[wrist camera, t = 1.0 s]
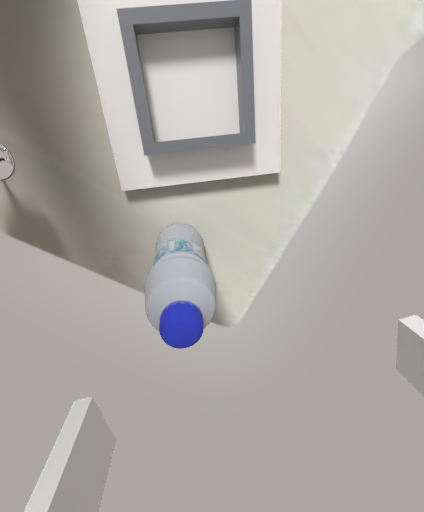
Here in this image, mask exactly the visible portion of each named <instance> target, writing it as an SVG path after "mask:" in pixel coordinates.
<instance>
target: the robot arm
mask: <svg viewBox="0 0 424 512" xmlns="http://www.w3.org/2000/svg"><path fill="white" fill-rule="evenodd" d="M396 369H397V370H398V371H399V372H400V373H401V374H402V375H403V376H404V377H405V378H406V379H407V380H408V381H409V382H410V383H411V384H412V385H413V386H414V387H415V388H416V389H417V390H418V391H419V392H420V393H421V394H422V395H423V396H424V320H423V319H421V318H419V317H418V316H417V315H415V316H411V317H407V318H403V319H399V320H398V341H397V365H396ZM115 442H116V438H115V436H114V435H113V433H112V431H111V429H110V427H109V425H108V424H107V422H106V420H105V418H104V416H103V415H102V413H101V411H100V409H99V407H98V406H97V404H96V402H95V400H94V398H93V397H89V398H84V399H80V400H76V401H74V403H73V406H72V407H71V410H70V412H69V414H68V416H67V418H66V421H65V423H64V425H63V427H62V430H61V432H60V434H59V436H58V438H57V440H56V443H55V445H54V447H53V449H52V451H51V454H50V456H49V458H48V460H47V462H46V464H45V467H44V469H43V471H42V473H41V475H40V478H39V480H38V482H37V484H36V487H35V488H34V491H33V493H32V495H31V497H30V499H29V502H28V504H27V506H26V508H25V510H24V512H98V511H99V507H100V503H101V499H102V495H103V491H104V487H105V483H106V479H107V475H108V471H109V467H110V462H111V458H112V454H113V450H114V446H115Z"/></svg>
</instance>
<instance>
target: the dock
mask: <svg viewBox="0 0 424 512" xmlns="http://www.w3.org/2000/svg"><path fill="white" fill-rule="evenodd" d="M77 2H78V6H79V10H80V15H81V19H82V23H83V27H84V32H85V36H86V40H87V44H88V49H89V53H90V57H91V61H92V66H93V70H94V74H95V79H96V83H97V87H98V91H99V96H100V100H101V104H102V108H103V113H104V117H105V121H106V125H107V130H108V134H109V138H110V142H111V147H112V151H113V155H114V159H115V164H116V168H117V172H118V177H119V181H120V185H121V189H122V191H128V190H136V189H145V188H153V187H161V186H170V185H178V184H187V183H195V182H204V181H212V180H221V179H229V178H238V177H246V176H254V175H263V174H271V173H280V158H281V14H282V0H77Z"/></svg>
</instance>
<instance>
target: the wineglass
mask: <svg viewBox="0 0 424 512" xmlns="http://www.w3.org/2000/svg"><path fill="white" fill-rule="evenodd" d="M13 170H14V161H13V158H12V155H11V154H10V152H9V151H8V150H7V148H6V147H4V146H3V145H2V144H0V180H3V179H6V178H7V177H9V176H10V175H11V174H12V172H13Z"/></svg>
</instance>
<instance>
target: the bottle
mask: <svg viewBox="0 0 424 512" xmlns="http://www.w3.org/2000/svg"><path fill="white" fill-rule="evenodd" d="M144 291H145V308H146V309H145V310H146V315H147V317H148V320H149V321H150V323H151V324H152V325H153V326H154V327H155V328H156V329H157V330H159V331H160V335H161V337H162V339H163V340H164V342H166V343H167V344H168V345H170V346H172V347H175V348H187V347H189V346H192V345H194V344H195V343H196V342H197V341H198V340H199V339H200V337H201V336H202V333H203V329H204V328H205V327H206V326H207V325H208V324H209V323H210V321H211V320H212V318H213V316H214V314H215V310H216V282H215V279H214V276H213V274H212V271H211V269H210V268H209V266H208V265H207V262H206V258H205V252H204V243H203V239H202V237H201V235H200V234H199V233H198V231H197V230H196V229H195V228H194V227H192V226H191V225H185V224H179V223H174V224H172V225H171V226H169V227H167V228H166V229H165V230H163V231H162V232H161V233H160V235H159V237H158V240H157V244H156V256H155V261H154V265H153V267H152V268H151V270H150V272H149V274H148V277H147V279H146V282H145V289H144Z"/></svg>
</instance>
